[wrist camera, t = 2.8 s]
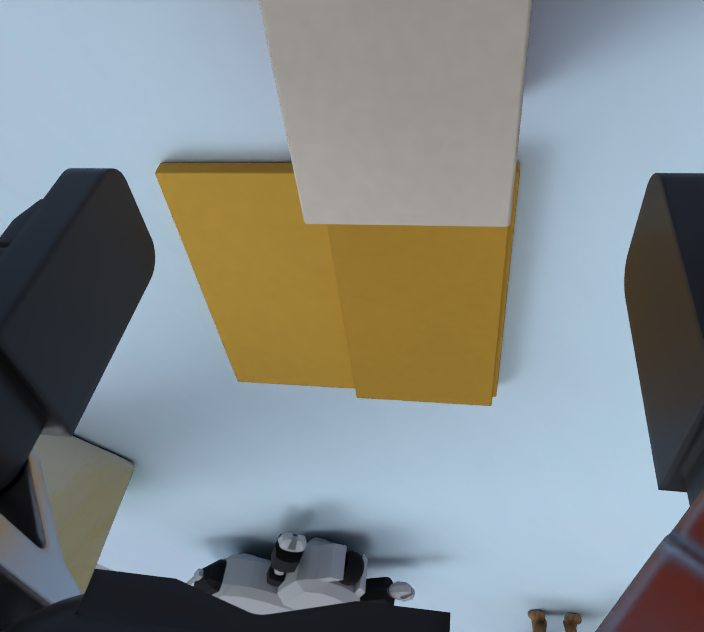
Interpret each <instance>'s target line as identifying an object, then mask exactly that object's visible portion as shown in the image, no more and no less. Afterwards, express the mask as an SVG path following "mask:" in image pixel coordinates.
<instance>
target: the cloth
mask: <svg viewBox="0 0 704 632" xmlns="http://www.w3.org/2000/svg"><path fill="white" fill-rule="evenodd" d="M155 174H156V177H157V179H158V182H159V184H160V187H161V189H162V192H163V194H164V197H165V199H166V202H167V204H168V207H169V209H170V212H171V214H172V217H173V220H174V222H175V225H176V227H177V230H178V232H179V235H180V237H181V240H182V242H183V245H184V247H185V250H186V252H187V255H188V257H189V260H190V262H191V265H192V267H193V270H194V272H195V275H196V277H197V280H198V282H199V285H200V287H201V290H202V292H203V295H204V297H205V300H206V302H207V305H208V307H209V310H210V313H211V315H212V318H213V320H214V323H215V325H216V328H217V330H218V333H219V335H220V338H221V340H222V343H223V345H224V348H225V350H226V353H227V355H228V358H229V360H230V363H231V365H232V368H233V370H234V373H235V375H236V378H237V380H238V382H254V383H271V384H288V385H304V386H321V387H338V388H355V390H356V395H357V398H371V399H387V400H403V401H419V402H436V403H452V404H468V405H484V406H491V405H492V397H496V394H497V384H498V375H499V365H500V356H501V346H502V337H503V327H504V317H505V308H506V298H507V289H508V279H509V270H510V260H511V251H512V241H513V232H514V222H515V212H516V203H517V193H518V184H519V174H520V171H519V162H516V172H515V182H514V192H513V202H512V213H511V223H510V225H509V226H507V227H491V226H422V225H354V224H306V223H305V222H304V218H303V214H302V209H301V204H300V199H299V194H298V189H297V184H296V180H295V175H294V170H293V165H292V163H160V165H159V167H158V168H157V170H156V172H155Z"/></svg>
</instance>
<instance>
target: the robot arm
mask: <svg viewBox="0 0 704 632" xmlns="http://www.w3.org/2000/svg"><path fill="white" fill-rule="evenodd" d="M154 266H155V250H154V245H153V241H152V239H151V236H150V234H149V232H148V229H147V227H146V225H145V222H144V220H143V218H142V216H141V213H140V211H139V209H138V206H137V204H136V202H135V199H134V197H133V195H132V192H131V190H130V188H129V186H128V183H127V181H126V179H125V177H124V176H123V174H122V173H121V172H120V171H118V170H117V169H111V168H70V169H67V170H66V171H64V172H63V173H62V174H61V176H60V177H59V178H58V180H57V181H56V182H55V184H54V185H53V186H52V188H51V189H50V191H49V192H48V193H47V195H46V196H45V197H44V199H40V200H39V201H38V202H36V203H35V204H34V205H32V206H31V207H30V208H28V209H27V210H26V211H24V212H23V213H22V214H20V215H19V216H18V217H16V218H15V219H14V220H13V221H12V222H11V224H10V225H9V226H8V228H7V229H6V230H5V232H4V233H3V234H2V235H1V237H0V632H450V613H449V612H441V611H432V610H424V609H416V608H408V607H400V606H392V605H384V604H376V603H368V602H360V601H353V602H347V603H340V604H333V605H327V606H320V607H313V608H307V609H300V610H293V611H287V612H280V613H273V614H265V615H259V614H253V613H250V612H248V611H246V610H243V609H241V608H239V607H237V606H235V605H232V604H230V603H228V602H226V601H224V600H221V599H219V598H217V597H215V596H213V595H210V594H208V593H206V592H204V591H202V590H199V589H197V588H195V587H193V586H191V585H188V584H186V583H184V582H182V581H180V580H177V579H174V578H166V577H157V576H149V575H141V574H133V573H125V572H117V571H109V570H101V569H94V572H93V574H92V577H91V579H90V581H89V584H88V586H87V589H86V591H85V594H82V593H81V591H80V589H79V587H78V585H77V583H76V582H75V580H74V578H73V577H72V575H71V574H70V572H69V570H68V568H67V566H66V564H65V561H64V559H63V556H62V553H61V548H60V544H59V540H58V535H57V531H56V527H55V522H54V518H53V514H52V509H51V505H50V501H49V496H48V492H47V488H46V483H45V479H44V475H43V470H42V466H41V462H40V459H39V456H38V455H37V454H36V452H35V451H34V450H33V447H34V445H35V443H36V441H37V439H38V438H39V436H40V434H42V435H54V436H65V437H72V435H73V433H74V431H75V429H76V427H77V425H78V423H79V421H80V419H81V417H82V415H83V413H84V411H85V409H86V407H87V405H88V403H89V401H90V399H91V397H92V395H93V393H94V391H95V389H96V387H97V385H98V383H99V381H100V379H101V377H102V375H103V373H104V371H105V369H106V367H107V365H108V363H109V361H110V359H111V357H112V355H113V353H114V351H115V349H116V347H117V345H118V343H119V341H120V339H121V337H122V335H123V333H124V331H125V329H126V327H127V325H128V323H129V321H130V319H131V317H132V315H133V313H134V311H135V309H136V307H137V305H138V303H139V301H140V299H141V297H142V295H143V293H144V291H145V289H146V287H147V285H148V283H149V281H150V279H151V277H152V275H153V271H154ZM624 290H625V299H626V305H627V310H628V316H629V322H630V328H631V334H632V339H633V345H634V351H635V357H636V362H637V368H638V374H639V380H640V386H641V391H642V397H643V403H644V409H645V414H646V420H647V426H648V432H649V438H650V443H651V449H652V455H653V461H654V467H655V472H656V478H657V484H658V490H667V491H678V492H687V494H688V499H689V504H690V507H689V509H688V510H687V511H686V513H685V514H684V515H683V517H682V518H681V520H680V521H679V522H678V524H677V525H676V526H675V528H674V529H673V530H672V532H671V533H670V534H669V535H667V536H666V537H665V538H664V539H663V541H662V542H661V543H660V544H659V546H658V547H657V548H656V550H655V551H654V552H653V554H652V555H651V556H650V558H649V559H648V560H647V562H646V563H645V564H644V566H643V567H642V568H641V570H640V571H639V573H638V574H637V575H636V577H635V578H634V579H633V581H632V582H631V584H630V585H629V586H628V588H627V589H626V590H625V592H624V593H623V594H622V596H621V597H620V599H619V600H618V601H617V603H616V604H615V605H614V607H613V608H612V609H611V611H610V612H609V614H608V615H607V616H606V618H605V619H604V620H603V622H602V623H601V625H600V626H599V627H598V629H597V630H596V631H595V632H704V173H655V174H653V175H652V176H651V178H650V180H649V183H648V185H647V188H646V192H645V195H644V199H643V202H642V206H641V209H640V213H639V216H638V220H637V223H636V227H635V230H634V234H633V237H632V241H631V244H630V248H629V251H628V255H627V260H626V266H625V277H624Z"/></svg>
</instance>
